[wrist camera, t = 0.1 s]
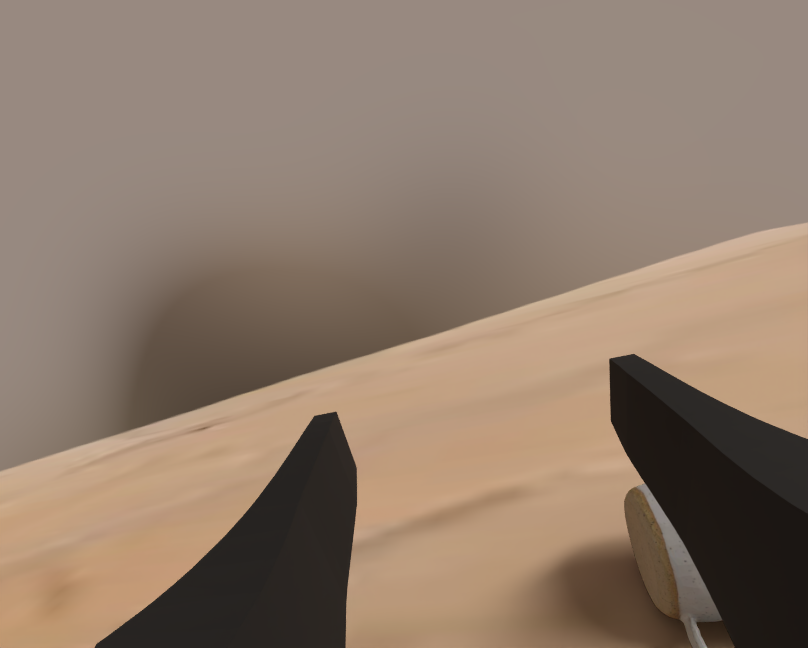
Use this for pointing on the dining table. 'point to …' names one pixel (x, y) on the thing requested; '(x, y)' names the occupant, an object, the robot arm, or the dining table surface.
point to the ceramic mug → (667, 565)
